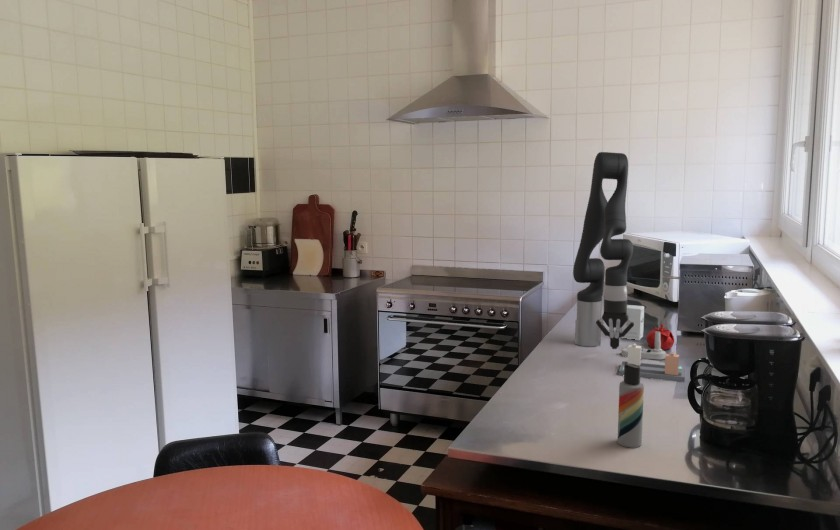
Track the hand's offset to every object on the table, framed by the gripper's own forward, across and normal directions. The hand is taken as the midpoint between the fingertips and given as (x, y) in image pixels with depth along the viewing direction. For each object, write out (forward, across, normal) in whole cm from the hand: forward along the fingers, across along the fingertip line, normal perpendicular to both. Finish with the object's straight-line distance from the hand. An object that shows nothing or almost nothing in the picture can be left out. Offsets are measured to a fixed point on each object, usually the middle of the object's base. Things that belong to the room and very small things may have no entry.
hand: (614, 348), depth 227 cm
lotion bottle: (+8, -10, +65) cm, 66 cm away
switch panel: (+7, -12, +3) cm, 14 cm away
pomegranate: (+6, -14, -31) cm, 34 cm away
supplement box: (+6, -3, -44) cm, 44 cm away
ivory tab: (+5, -6, 0) cm, 8 cm away
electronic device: (+7, -9, -16) cm, 20 cm away
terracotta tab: (+5, -18, +7) cm, 20 cm away
